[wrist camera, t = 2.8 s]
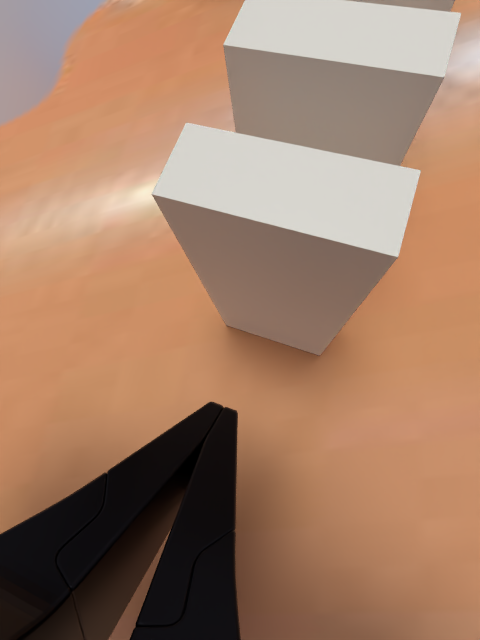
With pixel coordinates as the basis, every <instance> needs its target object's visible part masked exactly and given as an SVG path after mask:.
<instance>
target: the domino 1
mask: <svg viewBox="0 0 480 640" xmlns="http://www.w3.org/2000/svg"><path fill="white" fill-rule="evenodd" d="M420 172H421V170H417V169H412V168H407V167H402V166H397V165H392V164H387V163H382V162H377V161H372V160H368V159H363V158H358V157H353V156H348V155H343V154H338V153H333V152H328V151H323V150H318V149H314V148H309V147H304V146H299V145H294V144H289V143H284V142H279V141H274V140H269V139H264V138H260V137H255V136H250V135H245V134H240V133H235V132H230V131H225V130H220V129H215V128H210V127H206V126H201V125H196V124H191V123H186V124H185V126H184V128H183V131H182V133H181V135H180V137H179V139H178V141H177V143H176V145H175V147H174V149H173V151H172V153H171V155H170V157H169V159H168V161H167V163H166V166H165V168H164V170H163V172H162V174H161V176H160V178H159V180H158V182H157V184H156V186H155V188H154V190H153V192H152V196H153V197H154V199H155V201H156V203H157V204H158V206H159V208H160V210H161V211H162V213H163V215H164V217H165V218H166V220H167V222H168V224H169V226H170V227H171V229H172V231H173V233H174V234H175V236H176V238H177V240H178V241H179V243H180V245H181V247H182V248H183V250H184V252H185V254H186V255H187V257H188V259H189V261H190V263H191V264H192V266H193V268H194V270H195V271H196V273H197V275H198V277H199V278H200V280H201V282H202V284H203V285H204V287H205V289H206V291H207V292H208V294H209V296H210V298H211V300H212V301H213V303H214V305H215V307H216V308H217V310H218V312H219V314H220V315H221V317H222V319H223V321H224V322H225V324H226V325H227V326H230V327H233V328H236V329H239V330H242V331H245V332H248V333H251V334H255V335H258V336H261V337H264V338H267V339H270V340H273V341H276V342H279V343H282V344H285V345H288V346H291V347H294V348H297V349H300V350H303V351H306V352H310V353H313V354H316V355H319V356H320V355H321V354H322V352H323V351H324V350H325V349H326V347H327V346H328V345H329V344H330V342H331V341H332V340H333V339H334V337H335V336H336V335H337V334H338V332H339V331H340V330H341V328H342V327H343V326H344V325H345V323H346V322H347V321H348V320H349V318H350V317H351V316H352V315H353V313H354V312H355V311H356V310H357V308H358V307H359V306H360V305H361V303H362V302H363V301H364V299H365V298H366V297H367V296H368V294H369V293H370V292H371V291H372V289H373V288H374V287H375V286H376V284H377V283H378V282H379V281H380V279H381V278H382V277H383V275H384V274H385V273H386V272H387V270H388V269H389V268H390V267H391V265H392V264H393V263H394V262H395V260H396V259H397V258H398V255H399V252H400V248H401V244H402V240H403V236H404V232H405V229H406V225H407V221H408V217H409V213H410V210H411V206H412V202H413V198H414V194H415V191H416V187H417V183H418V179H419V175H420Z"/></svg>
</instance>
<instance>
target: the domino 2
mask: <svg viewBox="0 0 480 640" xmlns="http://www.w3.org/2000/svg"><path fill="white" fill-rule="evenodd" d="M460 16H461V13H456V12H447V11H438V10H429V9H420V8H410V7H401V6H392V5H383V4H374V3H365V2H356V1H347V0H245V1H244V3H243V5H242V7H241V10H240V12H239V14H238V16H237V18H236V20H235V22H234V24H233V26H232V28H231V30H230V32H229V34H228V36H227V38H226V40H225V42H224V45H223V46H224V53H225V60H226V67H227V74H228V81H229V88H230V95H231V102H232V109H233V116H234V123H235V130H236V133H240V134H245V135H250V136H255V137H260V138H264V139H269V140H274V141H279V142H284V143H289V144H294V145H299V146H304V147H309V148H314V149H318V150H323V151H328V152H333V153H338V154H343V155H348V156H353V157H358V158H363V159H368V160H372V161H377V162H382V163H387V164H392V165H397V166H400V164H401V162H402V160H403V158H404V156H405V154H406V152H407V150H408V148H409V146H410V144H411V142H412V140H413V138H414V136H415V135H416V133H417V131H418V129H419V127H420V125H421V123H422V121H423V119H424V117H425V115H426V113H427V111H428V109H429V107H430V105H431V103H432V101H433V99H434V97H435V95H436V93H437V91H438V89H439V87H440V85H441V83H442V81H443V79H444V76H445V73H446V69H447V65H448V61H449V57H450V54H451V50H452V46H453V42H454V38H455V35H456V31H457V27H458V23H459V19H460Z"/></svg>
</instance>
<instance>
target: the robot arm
mask: <svg viewBox="0 0 480 640" xmlns="http://www.w3.org/2000/svg"><path fill="white" fill-rule="evenodd" d="M237 424H238V413H237V411H236V410H233V409H230V408H228V407H223V406H222V405H220V404H217V403H214V402H209V403H207V404H206V405H204V406H203V407H201V408H200V409H199V410H197V411H196V412H194V413H193V414H191V415H190V416H188V417H187V418H185V419H184V420H182V421H181V422H179V423H178V424H176V425H175V426H173V427H172V428H170V429H169V430H167V431H166V432H164V433H163V434H161V435H160V436H158V437H157V438H156V439H154V440H153V441H151V442H150V443H148V444H147V445H145V446H144V447H142V448H141V449H139V450H138V451H136V452H135V453H133V454H132V455H130V456H129V457H127V458H126V459H124V460H123V461H121V462H120V463H118V464H117V465H115V466H114V467H113V468H111V469H110V470H108V472H107V473H103V474H102V475H100V476H99V477H97V478H96V479H95V480H93V481H92V482H90V483H88V484H87V485H85V486H84V487H82V488H81V489H79V490H78V491H76V492H74V493H73V494H71V495H70V496H68V497H66V498H64V499H63V500H61V501H59V502H57V503H56V504H54V505H52V506H50V507H49V508H47V509H45V510H43V511H42V512H40V513H38V514H36V515H34V516H33V517H31V518H29V519H27V520H25V521H23V522H22V523H20V524H18V525H16V526H14V527H12V528H11V529H9V530H7V531H5V532H3V533H2V534H0V640H108V639H109V637H110V635H111V633H112V632H113V630H114V628H115V626H116V625H117V623H118V621H119V619H120V617H121V616H122V614H123V612H124V610H125V609H126V607H127V605H128V603H129V602H130V600H131V598H132V596H133V594H134V593H135V591H136V589H137V587H138V586H139V584H140V582H141V580H142V579H143V577H144V575H145V573H146V572H147V570H148V568H149V566H150V564H151V563H152V561H153V559H154V557H155V556H156V554H157V552H158V550H159V549H160V547H161V545H162V543H163V542H164V540H165V538H166V536H167V534H168V533H169V531H170V529H171V531H170V534H169V536H168V539H167V542H166V544H165V547H164V550H163V552H162V555H161V558H160V560H159V563H158V566H157V568H156V571H155V574H154V576H153V579H152V582H151V584H150V587H149V590H148V592H147V595H146V598H145V600H144V603H143V606H142V608H141V611H140V614H139V616H138V619H137V622H136V628H134V630H133V633H132V635H131V638H130V640H241V638H240V627H239V616H238V605H237V591H236V574H235V537H236V533H235V528H236V476H237ZM171 527H172V528H171Z"/></svg>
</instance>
